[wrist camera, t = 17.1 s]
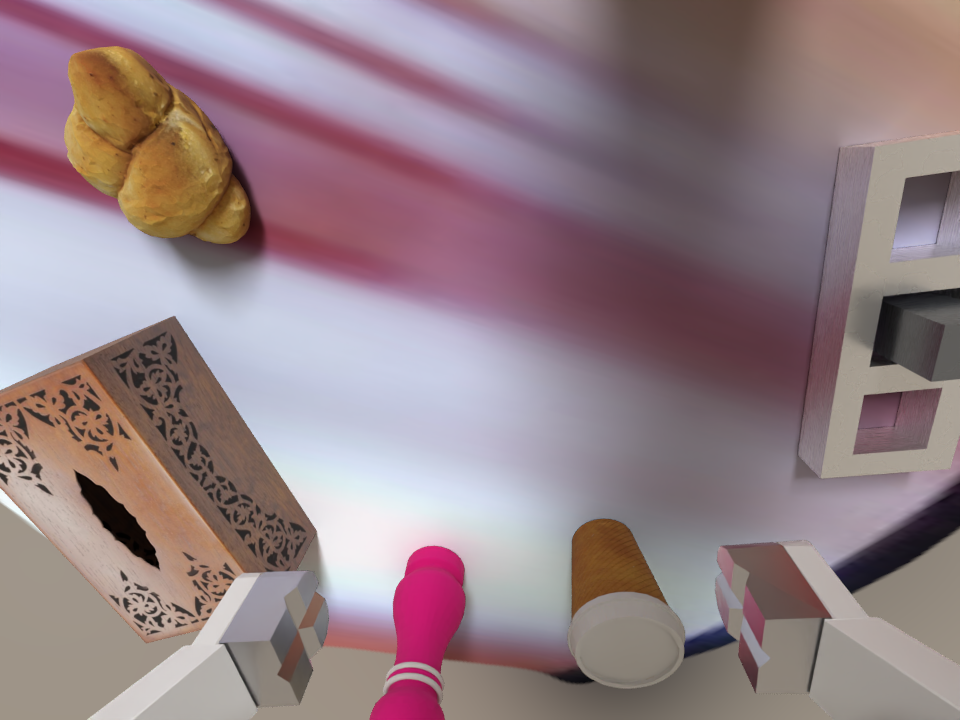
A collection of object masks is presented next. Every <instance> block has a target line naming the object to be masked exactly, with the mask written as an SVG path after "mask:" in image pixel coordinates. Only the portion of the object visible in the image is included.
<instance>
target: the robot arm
mask: <svg viewBox="0 0 960 720" xmlns="http://www.w3.org/2000/svg"><path fill="white" fill-rule="evenodd" d="M717 562H718V564H719V566H720V568H721V570H722V573H721V574H720V575H719V576H718V577H717V578H716V583H715V593H716V599H717V605H718V609H719V612H720V615H721V618H722V621H723V623H724V625H725V628H726V630H727V632H728V633H729V634H730V635H732V636H733V637H734V638H735V639H737V640H738V641H739V653H738V656H739V658H740V661H741V663H742V665H743V667H744V669H745V671H746V674H747V676H748V678H749V680H750V682H751V685H752V687H753V689H754V691H755V693H756V694H809V697H810V698H811V699H812V700H813V701H814V702H815V703H816V704H817V705H818V706H819V707H821V708H822V709H823V710H824V711H825V712H826V713H827V714H828V715H829V716H830V717H831V718H833V719H834V720H960V665H958V664H956V663H954V662H953V661H951V660H950V659H948V658H946V657H945V656H942V655H941V654H940V653H938V652H936V651H934V650H933V649H931V648H929V647H928V646H926V645H925V644H923V643H921V642H919V641H918V640H916V639H914V638H913V637H911V636H910V635H908V634H906V633H904V632H903V631H901V630H899V629H898V628H896V627H894V626H893V625H891V624H889V623H888V622H886V621H884V620H883V619H881V618H879V617H869V616H868V615H867V614H866V613H865V611H864V610H863V609H862V608H861V606H860V605H859V604H858V602H857V601H856V600H855V599H854V597H853V596H852V595H851V593H850V592H849V591H848V590H847V588H846V587H845V586H844V585H843V583H842V582H841V581H840V579H839V578H838V577H837V576H836V574H835V573H834V572H833V571H832V569H831V568H830V567H829V565H828V564H827V563H826V562H825V560H824V559H823V558H822V556H821V555H820V554H819V553H818V551H817V550H816V549H815V548H814V546H813V545H812V544H811V543H809V542H808V541H806V540H799V541H784V542H776V543H774V542H768V543H754V544H739V545H725V546H720V548H719V550H718V554H717ZM318 584H319V582H318V580H317V578H316V575H315V573H314V572H313V571H280V572H262V573H243V574H241V575H240V576H238V577H237V578H236V579H235V580H234V581H233V583H232V584H231V586H230V587H229V589H228V590H227V592H226V594H225V595H224V597H223V598H222V600H221V601H220V603H219V604H218V606H217V607H216V609H215V610H214V612H213V613H212V615H211V616H210V618H209V619H208V621H207V622H206V624H205V625H204V627H203V628H202V630H201V632H200V633H199V635H198V636H197V638H196V639H195V641H194V642H193V644H192V645H189V646H184V647H182V648H181V649H179V650H178V651H177V652H175V653H174V654H173V655H171V656H170V657H169V658H168V659H166V660H165V661H164V662H162V663H161V664H160V665H158V666H157V667H156V668H154V669H153V670H152V671H150V672H149V673H148V674H147V675H145V676H144V677H143V678H141V679H140V680H139V681H137V682H136V683H135V684H133V685H132V686H131V687H130V688H128V689H127V690H126V691H124V692H123V693H122V694H120V695H119V696H118V697H116V698H115V699H114V700H113V701H111V702H110V703H109V704H107V705H106V706H104V707H103V708H102V709H101V710H100V711H98V712H97V713H95V714H94V715H93V716H91V717H90V718H89V719H87V720H250V719H251V718H252V717H253V716H254V714H255V713H256V712H257V711H258V709H257V708H260V707H277V706H294V705H300V703H301V700H302V698H303V695H304V693H305V690H306V687H307V685H308V682H309V680H310V677H311V675H312V672H313V667H312V664H311V660H310V659H311V658H312V657H313V656H314V655H315V654H316V653H317V652H318V651H319V650H320V649H321V648H322V646H323V643H324V641H325V638H326V635H327V630H328V622H329V614H328V606H327V604H326V601H325V598H323V597H322V596H321V595H319V594H318V593H317V592H315V591H316V589H317V586H318Z"/></svg>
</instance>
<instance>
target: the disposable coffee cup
mask: <svg viewBox="0 0 960 720" xmlns="http://www.w3.org/2000/svg"><path fill="white" fill-rule="evenodd" d="M641 553H642V552H641V551H640V549H639V547H638V545H637V543H636V541H635V539H634V537H633V534H632V532H631V531H630V529H629V528H628V527H626V526H625V525H624V524H622V523H621V522H618V521H615V520H611V519H597V520H593V521H590V522H587V523H585V524H584V525H582V526H581V527H580V528H579V529H578V530H577V531H576V532H575V534H574V536H573V539H572V620H571V624H570V626H569V630H568V635H567V640H568V647H569V649H570V652H571V654H572V655H573V656H574V658H575V659H576V662H577V664H578V666H579V667H580V669H581V670H582V672H583V673H584V674H585V675H587V676H588V677H589V678H591V679H593V680H595V681H597V682H599V683H601V684H603V685H607V686H610V687H616V688H640V687H645V686H650V685H653V684H655V683H658V682H660V681H662V680H664V679H666V678H667V677H669V676H670V675H671V674H673V673H674V672H675V671H676V670H677V669H678V667H679V666H680V664H681V663H682V660H683V657H684V642H685V630H684V626H683V624H682V623H681V621H680V619H679V617H678V616H677V615H676V614H675V613H674V612H673V611H672V610H671V608H670V607H669V606H668V604H667V602H666V600H665V598H664V596H663V594H662V592H661V590H660V588H659V586H658V585H657V582H656V580H655V579H654V576H653V574H651V573H652V572H651V570H650V569H649V566H648V565H647V563H646V560H645V559H644V556H643V555H642V554H641Z"/></svg>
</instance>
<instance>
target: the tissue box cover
mask: <svg viewBox="0 0 960 720" xmlns="http://www.w3.org/2000/svg"><path fill="white" fill-rule="evenodd" d="M0 488H1V489H2V490H3V491H4V492H5V493H6V494H7V495H8V496H9V498H10V499H11V500H12V501H13V502H14V503H15V504H16V505H17V506H18V507H19V508H20V509H21V510H22V511H23V512H24V514H25V515H26V516H27V517H28V518H29V519H30V520H31V521H32V522H33V523H34V524H35V525H36V526H37V527H38V528H39V530H40V531H41V532H42V533H43V534H44V535H45V536H46V537H47V538H48V539H49V540H50V541H51V542H52V543H53V544H54V545H55V547H56V548H57V549H58V550H59V551H60V552H61V553H62V554H63V555H64V556H65V557H66V558H67V559H68V560H69V562H70V563H71V564H72V565H73V566H74V567H75V568H76V569H77V570H78V571H79V572H80V573H81V574H82V575H83V576H84V577H85V578H86V580H87V581H88V582H89V583H90V584H91V585H92V586H93V587H94V588H95V589H96V590H97V591H98V592H99V594H100V595H101V596H102V597H103V598H104V599H105V600H106V601H107V602H108V603H109V604H110V605H111V606H112V607H113V608H114V610H115V611H116V612H117V613H118V614H119V615H120V616H121V617H122V618H123V619H124V620H125V621H126V622H127V623H128V624H129V625H130V627H131V628H132V629H133V630H134V631H135V632H136V633H137V634H138V635H139V636H140V637H141V638H142V639H143V640H144V642H146V643H149V642H154V641H157V640H162V639H165V638H170V637H173V636H178V635H182V634H186V633H190V632H194V631H198V630H202V628H203V627H204V625H205V624H206V622H207V621H208V619H209V618H210V616H211V615H212V613H213V612H214V610H215V609H216V607H217V606H218V604H219V603H220V601H221V600H222V598H223V597H224V595H225V594H226V592H227V590H228V589H229V587H230V586H231V584H232V583H233V581H234V580H235V579H236V578H237V577H238V576H240V575H241V574H243V573H262V572H280V571H296V570H297V568H298V566H299V564H300V562H301V560H302V558H303V557H304V555H305V553H306V551H307V549H308V547H309V545H310V543H311V541H312V539H313V537H314V535H315V533H316V529H315V528H314V526H313V525H312V523H311V522H310V520H309V518H308V517H307V515H306V514H305V512H304V511H303V509H302V508H301V506H300V505H299V503H298V502H297V500H296V499H295V497H294V496H293V494H292V493H291V491H290V490H289V488H288V487H287V485H286V484H285V482H284V481H283V479H282V478H281V476H280V475H279V473H278V472H277V470H276V469H275V467H274V466H273V464H272V463H271V461H270V460H269V458H268V456H267V455H266V453H265V452H264V450H263V449H262V447H261V446H260V444H259V443H258V441H257V440H256V438H255V437H254V435H253V434H252V432H251V431H250V429H249V428H248V426H247V425H246V423H245V422H244V420H243V419H242V417H241V416H240V414H239V413H238V411H237V410H236V408H235V407H234V405H233V404H232V402H231V401H230V399H229V398H228V396H227V394H226V393H225V391H224V390H223V388H222V387H221V385H220V384H219V382H218V381H217V379H216V378H215V376H214V375H213V373H212V372H211V370H210V369H209V367H208V366H207V364H206V363H205V361H204V360H203V358H202V357H201V355H200V354H199V352H198V351H197V349H196V348H195V346H194V345H193V343H192V342H191V340H190V339H189V337H188V336H187V334H186V333H185V331H184V329H183V328H182V326H181V325H180V323H179V322H178V320H177V319H176V317H175V316H173V317H170V318H168V319H166V320H163V321H161V322H158V323H156V324H154V325H151V326H149V327H146V328H144V329H142V330H139V331H137V332H134V333H132V334H130V335H127V336H125V337H122V338H120V339H118V340H115V341H113V342H110V343H108V344H106V345H103V346H101V347H98V348H96V349H94V350H91V351H89V352H86V353H84V354H81V355H79V356H77V357H74V358H72V359H69V360H67V361H65V362H62V363H60V364H57V365H55V366H53V367H50V368H48V369H46V370H44V371H42V372H39V373H37V374H35V375H33V376H31V377H29V378H26V379H24V380H22V381H20V382H18V383H15V384H13V385H11V386H9V387H7V388H5V389H2V390H0Z"/></svg>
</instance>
